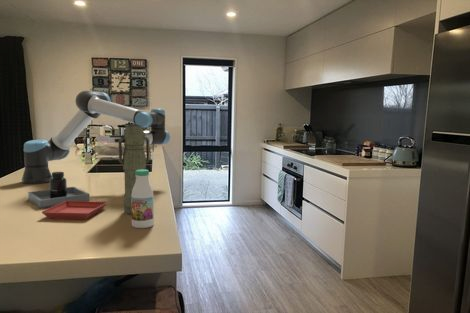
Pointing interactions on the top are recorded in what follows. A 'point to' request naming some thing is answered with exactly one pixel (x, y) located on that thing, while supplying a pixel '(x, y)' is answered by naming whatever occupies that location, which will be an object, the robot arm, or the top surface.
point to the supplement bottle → (58, 185)
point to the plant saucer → (74, 210)
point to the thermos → (132, 159)
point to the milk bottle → (142, 201)
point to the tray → (44, 199)
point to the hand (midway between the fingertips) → (101, 139)
